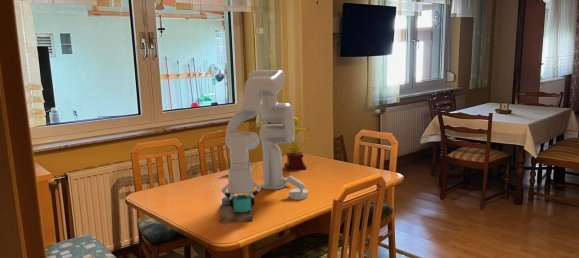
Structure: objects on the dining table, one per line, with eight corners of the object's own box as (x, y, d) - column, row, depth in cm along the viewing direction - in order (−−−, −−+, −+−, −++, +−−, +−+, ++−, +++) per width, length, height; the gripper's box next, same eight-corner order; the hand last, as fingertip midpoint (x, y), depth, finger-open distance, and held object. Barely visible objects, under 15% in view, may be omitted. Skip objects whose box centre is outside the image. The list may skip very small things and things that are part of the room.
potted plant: (276, 168, 259) (274, 117, 254) (292, 163, 271) (291, 114, 266) (295, 172, 250) (293, 119, 245) (312, 166, 262) (310, 115, 257)
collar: (251, 205, 189) (250, 193, 189) (251, 211, 182) (250, 199, 182) (234, 206, 189) (233, 195, 188) (233, 212, 182) (232, 200, 181)
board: (251, 202, 203) (250, 184, 202) (252, 220, 181) (251, 200, 179) (222, 204, 202) (221, 185, 201) (220, 222, 180) (218, 202, 178)
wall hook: (292, 173, 214) (310, 175, 209) (293, 192, 215) (311, 195, 210) (282, 177, 207) (301, 180, 201) (283, 197, 208) (301, 200, 203)
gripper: (260, 161, 187) (263, 202, 190) (218, 164, 185) (221, 205, 188) (261, 166, 179) (263, 208, 183) (217, 169, 178) (220, 211, 181)
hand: (242, 206), depth 185 cm, fingers closed on collar, 7 cm apart
